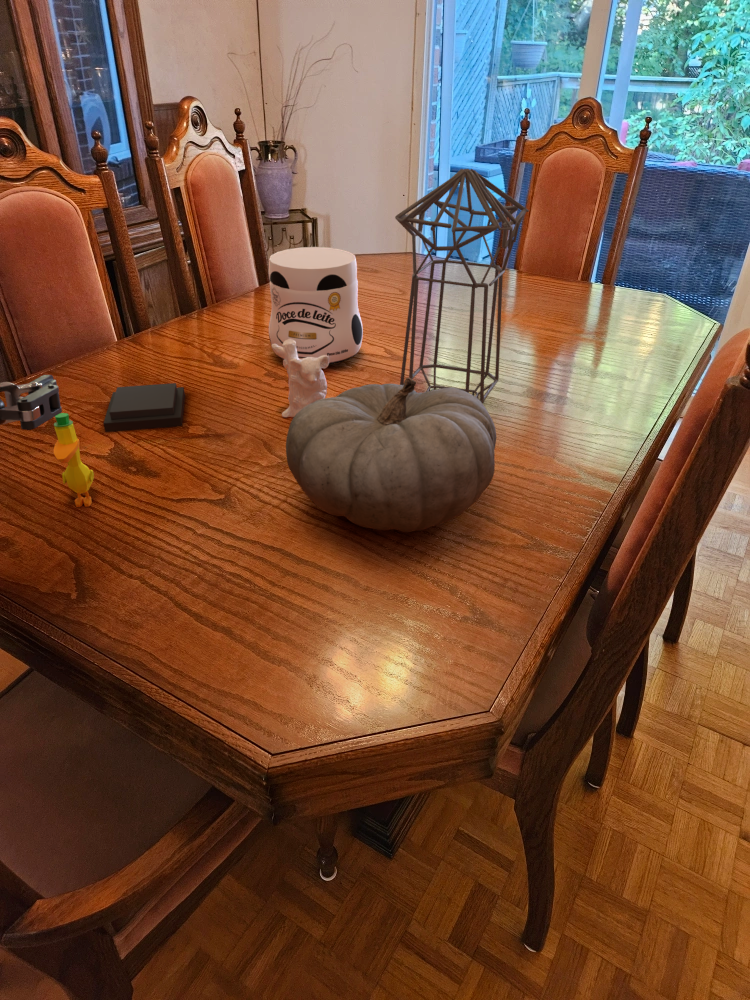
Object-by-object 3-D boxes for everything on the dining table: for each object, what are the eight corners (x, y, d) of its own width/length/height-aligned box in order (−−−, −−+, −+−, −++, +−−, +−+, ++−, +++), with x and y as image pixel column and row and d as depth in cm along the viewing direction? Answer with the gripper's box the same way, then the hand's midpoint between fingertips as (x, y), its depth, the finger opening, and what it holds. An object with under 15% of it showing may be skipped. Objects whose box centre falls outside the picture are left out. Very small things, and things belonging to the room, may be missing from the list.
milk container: (287, 380, 116) (279, 275, 106) (259, 346, 129) (250, 250, 119) (377, 365, 122) (378, 264, 112) (342, 334, 135) (340, 242, 125)
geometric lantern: (385, 423, 103) (390, 173, 83) (418, 384, 115) (428, 158, 95) (485, 442, 98) (515, 181, 78) (508, 399, 110) (538, 165, 91)
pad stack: (106, 437, 98) (101, 415, 96) (116, 405, 107) (111, 385, 105) (183, 431, 100) (179, 409, 98) (186, 400, 109) (182, 380, 107)
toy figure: (93, 517, 81) (69, 430, 75) (62, 520, 81) (35, 432, 74) (102, 488, 87) (80, 404, 80) (73, 490, 86) (49, 406, 80)
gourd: (496, 565, 70) (485, 409, 62) (275, 568, 76) (241, 425, 68) (502, 467, 92) (494, 342, 84) (329, 475, 98) (308, 359, 90)
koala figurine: (272, 422, 103) (266, 348, 96) (282, 403, 108) (277, 332, 102) (326, 425, 102) (323, 351, 95) (333, 406, 107) (331, 334, 101)
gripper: (-175, 476, 52) (-58, 415, 67) (9, 483, 53) (85, 422, 68) (-204, 383, 49) (-75, 341, 64) (-8, 391, 50) (75, 348, 65)
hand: (7, 382), depth 66 cm, fingers open, 8 cm apart
